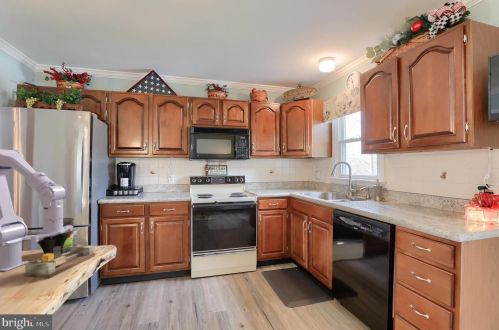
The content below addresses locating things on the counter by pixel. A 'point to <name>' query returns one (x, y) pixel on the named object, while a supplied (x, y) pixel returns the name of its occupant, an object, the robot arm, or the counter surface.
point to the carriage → (57, 256)
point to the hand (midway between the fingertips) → (53, 255)
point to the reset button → (47, 257)
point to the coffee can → (70, 238)
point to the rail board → (49, 269)
